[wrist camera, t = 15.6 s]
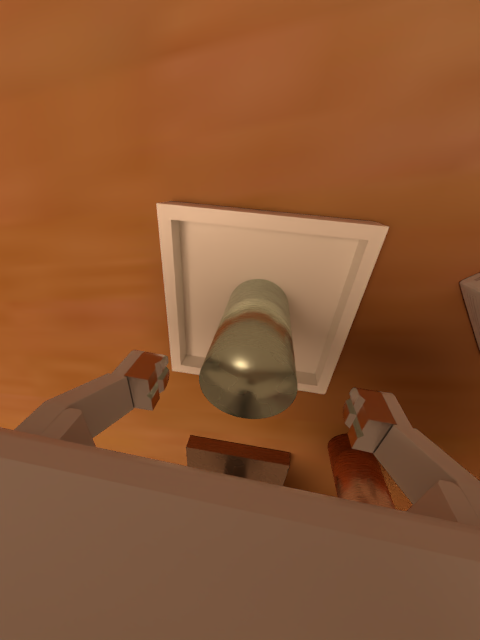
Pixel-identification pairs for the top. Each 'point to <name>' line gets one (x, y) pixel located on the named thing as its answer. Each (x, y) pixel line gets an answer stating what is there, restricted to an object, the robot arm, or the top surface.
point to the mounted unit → (238, 460)
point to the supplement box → (472, 302)
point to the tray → (265, 277)
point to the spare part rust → (357, 474)
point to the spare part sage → (252, 354)
